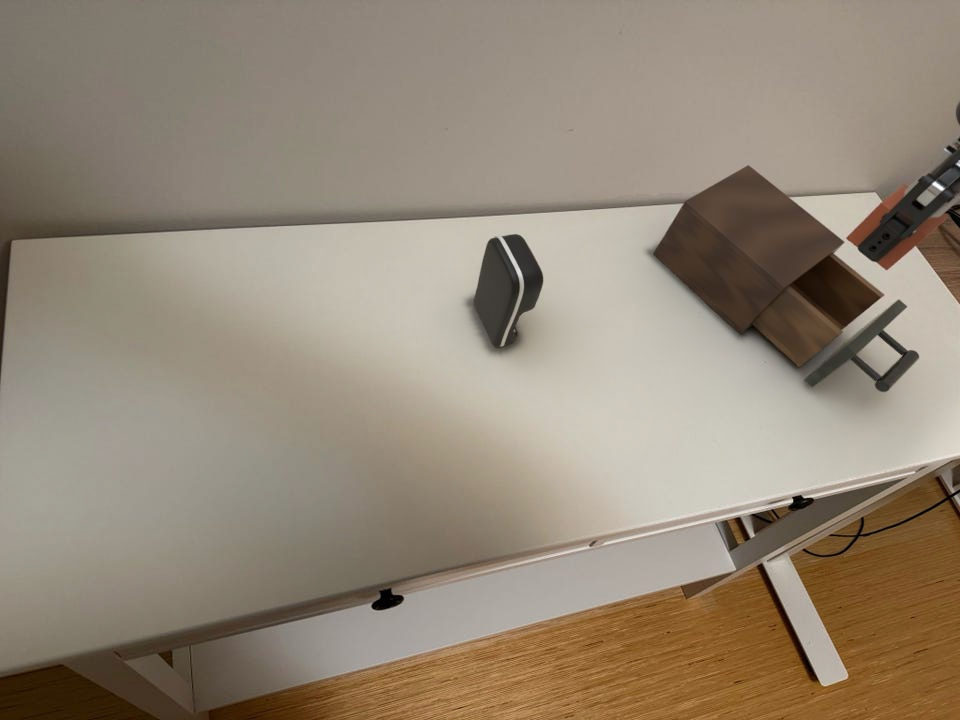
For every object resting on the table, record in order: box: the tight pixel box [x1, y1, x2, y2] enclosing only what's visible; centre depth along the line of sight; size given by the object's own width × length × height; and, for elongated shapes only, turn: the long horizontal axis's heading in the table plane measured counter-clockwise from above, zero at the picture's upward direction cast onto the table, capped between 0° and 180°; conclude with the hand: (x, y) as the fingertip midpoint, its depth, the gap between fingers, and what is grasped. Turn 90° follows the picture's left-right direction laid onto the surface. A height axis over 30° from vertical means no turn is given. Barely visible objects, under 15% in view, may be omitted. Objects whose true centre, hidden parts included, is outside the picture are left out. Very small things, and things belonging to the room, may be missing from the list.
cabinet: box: [652, 164, 845, 335], centre depth 71 cm, size 15×13×9 cm
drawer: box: [752, 253, 920, 393], centre depth 67 cm, size 18×11×7 cm, turn 39°
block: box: [845, 184, 949, 271], centre depth 53 cm, size 5×5×5 cm
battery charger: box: [473, 233, 544, 348], centre depth 60 cm, size 7×4×11 cm, turn 22°
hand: (881, 242), depth 55 cm, fingers closed on block, 4 cm apart
